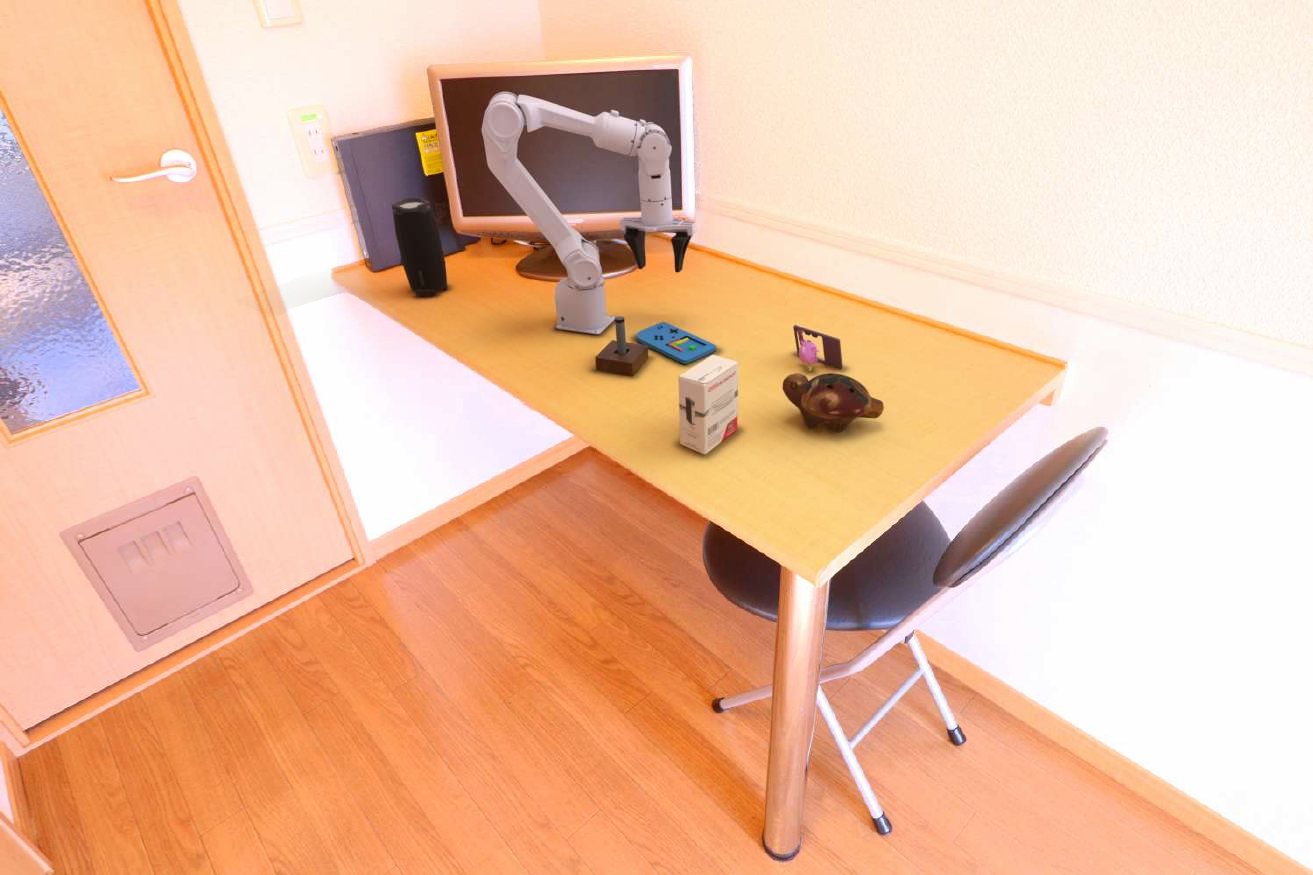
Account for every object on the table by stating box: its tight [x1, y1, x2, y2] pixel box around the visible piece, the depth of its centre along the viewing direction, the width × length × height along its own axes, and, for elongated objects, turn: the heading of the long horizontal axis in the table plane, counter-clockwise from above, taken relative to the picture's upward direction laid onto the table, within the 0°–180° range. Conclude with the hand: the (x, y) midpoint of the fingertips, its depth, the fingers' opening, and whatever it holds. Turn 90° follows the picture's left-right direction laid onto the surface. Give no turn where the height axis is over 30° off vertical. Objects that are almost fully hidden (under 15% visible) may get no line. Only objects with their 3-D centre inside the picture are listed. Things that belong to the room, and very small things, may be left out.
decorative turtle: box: [782, 372, 885, 433], centre depth 108 cm, size 10×15×8 cm, turn 84°
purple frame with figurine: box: [792, 324, 844, 372], centre depth 123 cm, size 7×5×9 cm
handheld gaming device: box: [635, 321, 717, 365], centre depth 133 cm, size 8×1×15 cm
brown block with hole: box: [594, 339, 649, 377], centre depth 127 cm, size 7×7×3 cm
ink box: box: [677, 354, 739, 455], centre depth 104 cm, size 8×5×12 cm, turn 140°
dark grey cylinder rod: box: [614, 315, 627, 355], centre depth 125 cm, size 2×2×9 cm
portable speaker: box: [391, 196, 448, 298], centre depth 154 cm, size 9×9×20 cm
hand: (660, 269), depth 137 cm, fingers open, 7 cm apart
